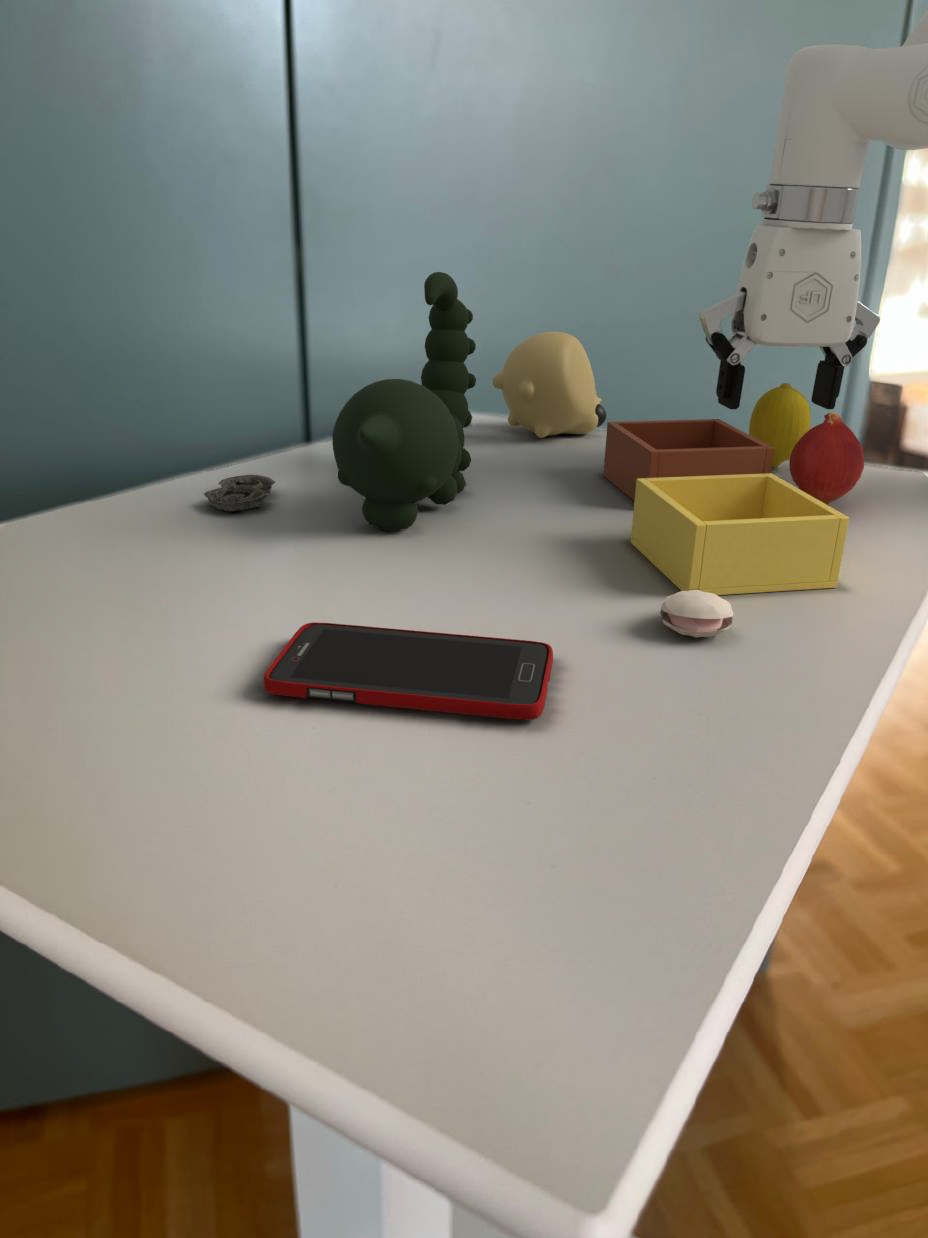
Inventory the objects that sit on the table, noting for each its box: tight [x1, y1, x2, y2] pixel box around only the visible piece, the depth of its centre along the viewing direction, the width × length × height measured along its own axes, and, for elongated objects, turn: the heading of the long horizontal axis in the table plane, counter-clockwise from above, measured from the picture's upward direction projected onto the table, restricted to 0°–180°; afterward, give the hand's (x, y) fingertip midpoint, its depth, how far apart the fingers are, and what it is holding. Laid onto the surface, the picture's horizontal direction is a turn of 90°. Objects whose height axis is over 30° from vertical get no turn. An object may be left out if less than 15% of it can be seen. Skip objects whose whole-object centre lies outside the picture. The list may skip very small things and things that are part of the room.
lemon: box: [748, 383, 812, 468], centre depth 94 cm, size 6×6×8 cm
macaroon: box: [659, 590, 734, 639], centre depth 61 cm, size 4×5×2 cm
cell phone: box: [263, 621, 554, 721], centre depth 54 cm, size 8×15×1 cm, turn 81°
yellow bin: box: [630, 472, 850, 596], centre depth 71 cm, size 11×11×5 cm
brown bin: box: [603, 418, 774, 502], centre depth 87 cm, size 11×11×5 cm
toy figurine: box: [331, 271, 477, 532], centre depth 79 cm, size 9×19×25 cm
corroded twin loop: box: [204, 474, 276, 512], centre depth 83 cm, size 5×8×1 cm, turn 175°
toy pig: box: [492, 331, 607, 439], centre depth 105 cm, size 10×12×11 cm
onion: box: [788, 411, 865, 505], centre depth 83 cm, size 6×6×8 cm
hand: (775, 406), depth 94 cm, fingers open, 9 cm apart
